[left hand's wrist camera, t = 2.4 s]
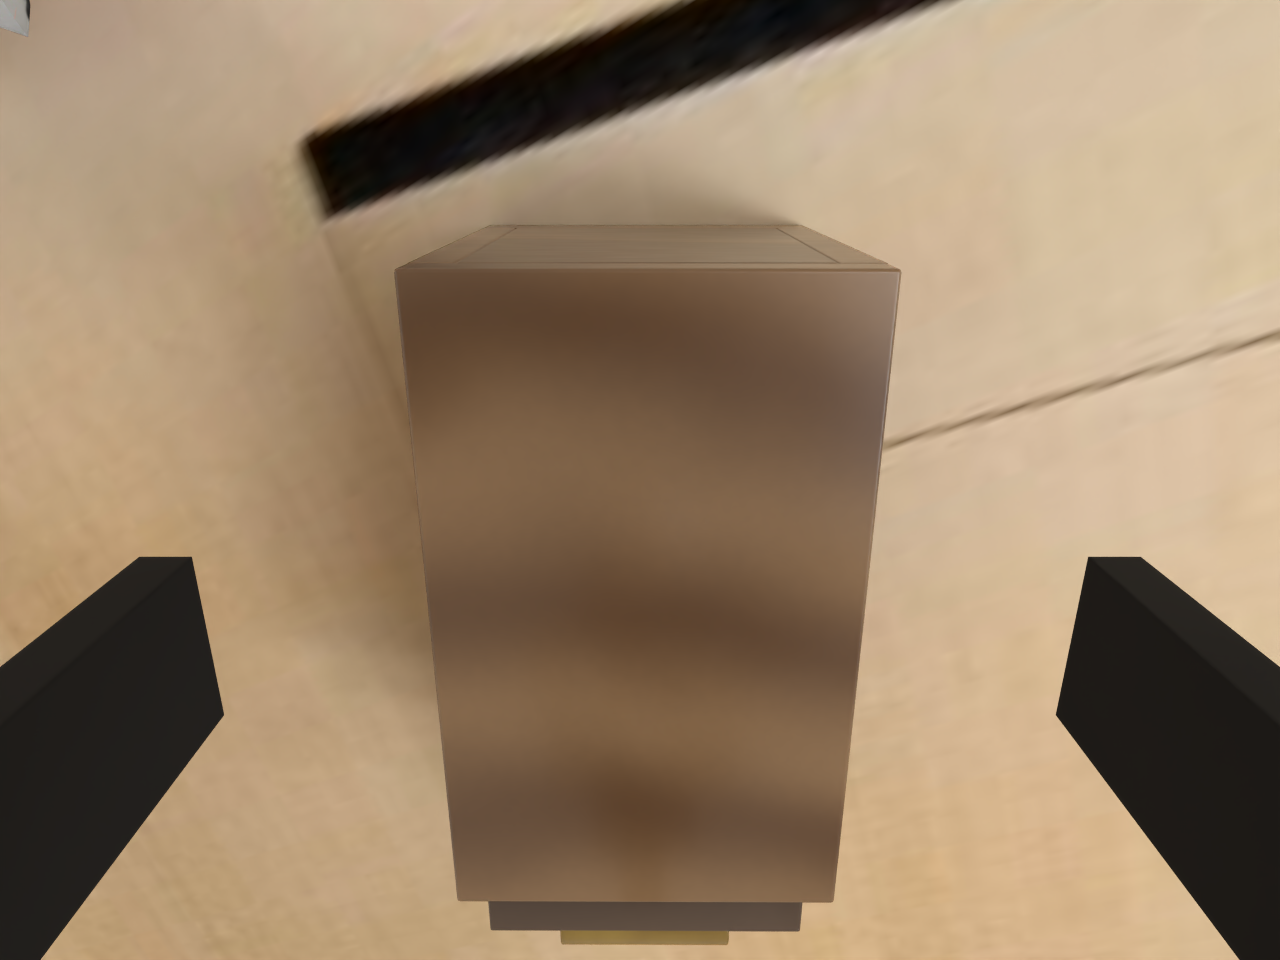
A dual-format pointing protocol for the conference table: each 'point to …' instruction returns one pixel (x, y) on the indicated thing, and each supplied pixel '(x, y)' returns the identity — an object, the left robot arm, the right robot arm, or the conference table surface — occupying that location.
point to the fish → (15, 16)
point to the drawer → (645, 920)
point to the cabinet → (646, 550)
